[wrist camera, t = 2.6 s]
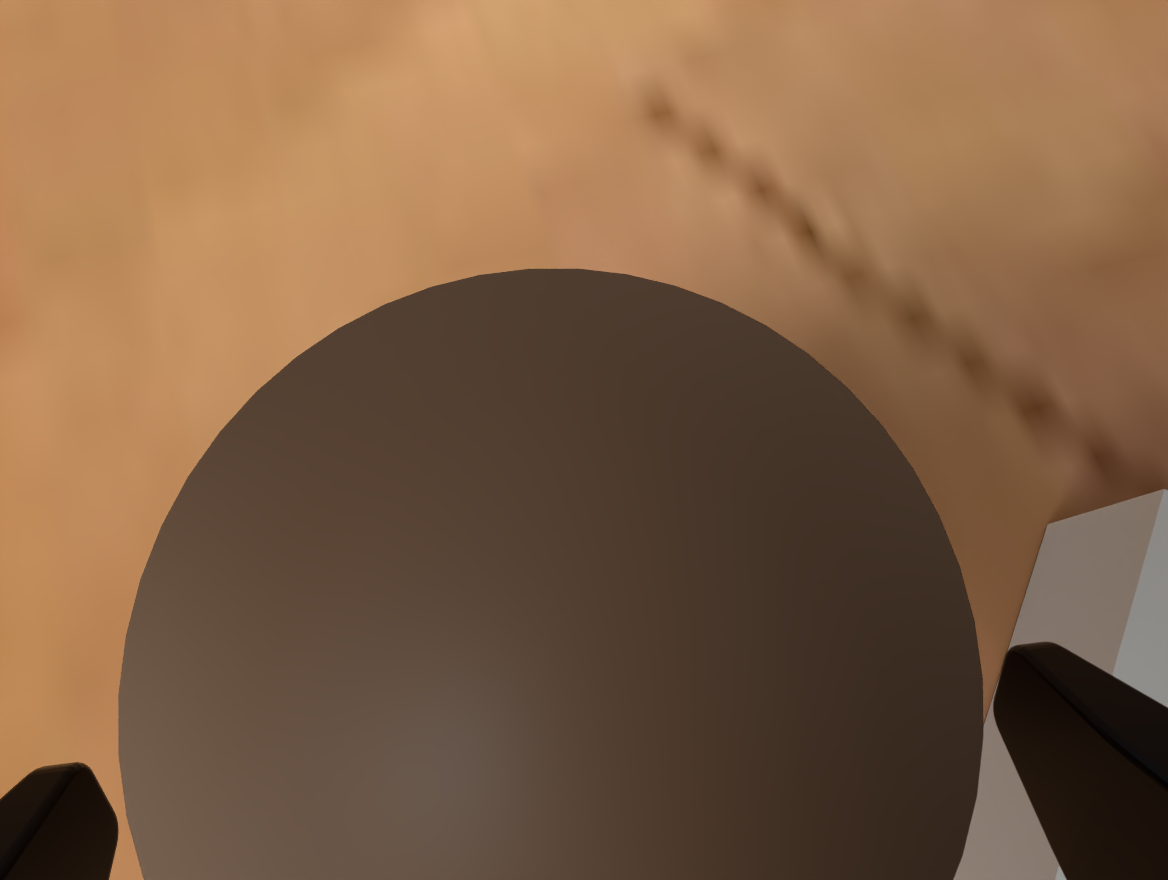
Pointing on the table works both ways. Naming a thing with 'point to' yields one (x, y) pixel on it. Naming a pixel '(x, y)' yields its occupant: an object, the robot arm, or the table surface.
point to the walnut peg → (551, 611)
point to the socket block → (1090, 630)
